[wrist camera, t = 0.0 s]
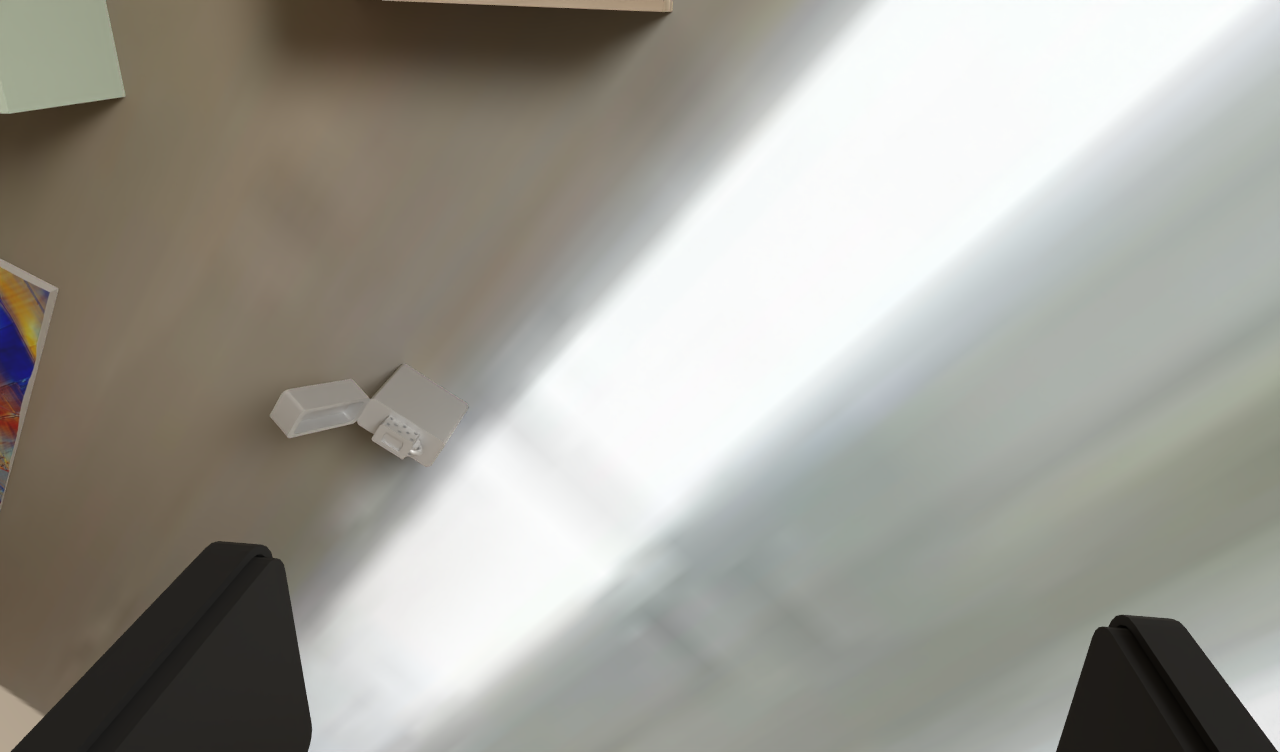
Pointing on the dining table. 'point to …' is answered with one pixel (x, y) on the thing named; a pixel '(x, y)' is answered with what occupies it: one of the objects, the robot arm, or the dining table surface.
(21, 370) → the relief map
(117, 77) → the sage block
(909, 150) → the dining table surface
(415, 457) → the lighter
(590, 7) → the birch block
